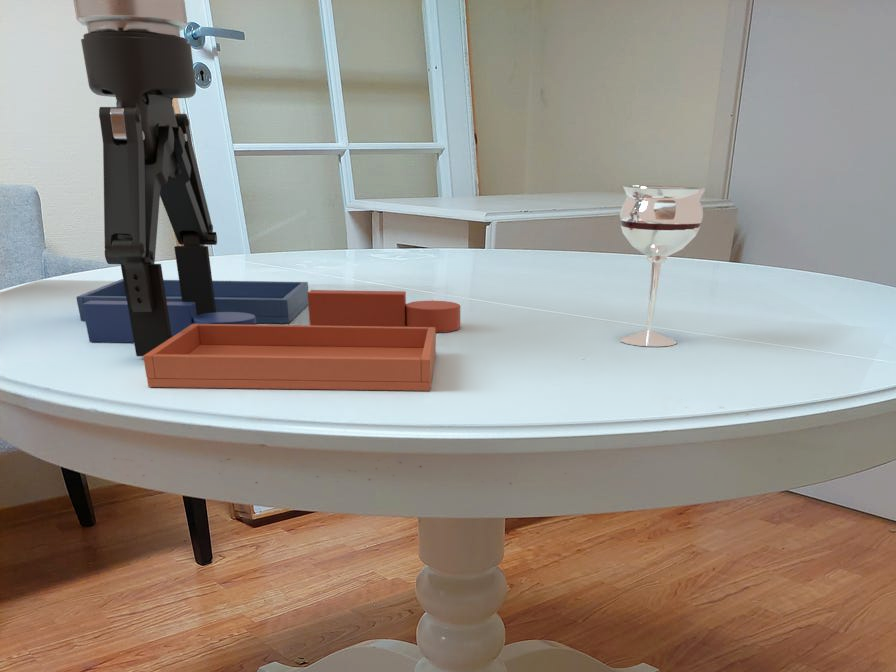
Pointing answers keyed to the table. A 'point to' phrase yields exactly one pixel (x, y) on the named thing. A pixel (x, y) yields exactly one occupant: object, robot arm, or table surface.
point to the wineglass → (659, 236)
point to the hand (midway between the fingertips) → (180, 339)
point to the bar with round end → (380, 310)
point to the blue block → (115, 326)
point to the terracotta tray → (295, 357)
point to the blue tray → (227, 298)
